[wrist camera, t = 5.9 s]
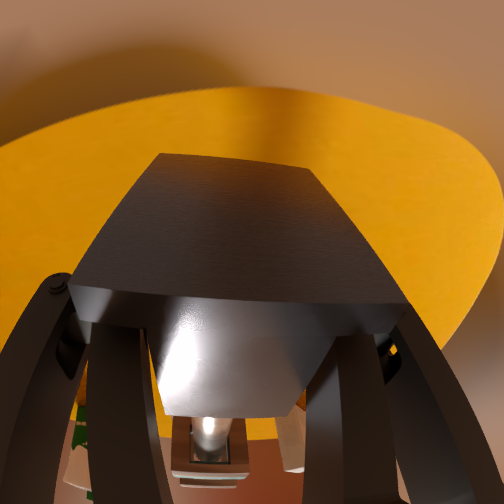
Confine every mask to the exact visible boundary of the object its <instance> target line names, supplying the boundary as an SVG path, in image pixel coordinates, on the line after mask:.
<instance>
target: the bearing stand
mask: <svg viewBox="0 0 504 504" xmlns="http://www.w3.org/2000/svg"><path fill="white" fill-rule="evenodd" d="M171 419H173V424H172V447H171V472H172V473H173V475H180V476H194V477H246V476H247V475H248V474H249V473H250V467H249V457H248V446H247V435H246V424H245V418H233V420H232V423H231V427H230V430H229V434H228V437H227V449H226V444H225V448H224V451H223V454H222V457H221V458H220V459H221V462H227V455H228V465H218V464H192V463H191V461H194V455H195V451H194V441H193V434H191V432H193V431H192V419H191V417H187V416H175V415H171ZM180 485H181V486H182V487H198V488H235V487H236V486H237V481H236V479H222V480H206V479H194V478H181V477H180Z"/></svg>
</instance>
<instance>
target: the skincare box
mask: <svg viewBox="0 0 504 504" xmlns="http://www.w3.org/2000/svg"><path fill="white" fill-rule="evenodd" d="M275 422H276V428H277V433H278V439H279V444H280V449H281V455H282V460H283V465H284V471H289V472H296V473H300V472H304V463H305V434H306V412H305V411H304V410H302V409H301V408H300V407H298V406H297V405H296V404H295V405H294V407H293V408H292V410H291V411H290V413H289V414H288V415H287V417H275Z"/></svg>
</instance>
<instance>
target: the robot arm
mask: <svg viewBox="0 0 504 504" xmlns="http://www.w3.org/2000/svg"><path fill="white" fill-rule="evenodd" d="M71 276H72V275H71V274H68V273H56V274H52V275H51V276H49V277H47V278H46V279H45V280H44V281H43V282H42V283H41V285H40V286H39V288H38V289H37V291H36V292H35V294H34V295H33V297H32V299H31V300H30V302H29V303H28V305H27V307H26V308H25V310H24V311H23V313H22V315H21V316H20V318H19V320H18V322H17V323H16V325H15V327H14V329H13V330H12V332H11V334H10V336H9V338H8V340H7V342H6V344H5V345H4V347H3V349H2V351H1V353H0V504H53V502H54V494H55V487H56V480H57V473H58V468H59V463H60V458H61V453H62V448H63V444H64V439H65V435H66V431H67V427H68V422H69V419H70V415H71V411H72V408H73V404H74V401H75V397H76V394H77V391H78V387H79V384H80V381H81V378H82V375H83V372H84V369H85V366H86V363H87V360H88V368H87V386H86V435H87V453H88V465H89V475H90V483H91V490H92V497H93V503H94V504H174V503H173V500H172V496H171V492H170V488H169V484H168V479H167V475H166V470H165V466H164V461H163V456H162V451H161V445H160V440H159V434H158V427H157V421H156V414H155V407H154V399H153V391H152V382H151V372H150V360H149V347H148V339H147V334H146V329H138V328H130V327H122V326H115V325H108V324H101V323H95V322H89V321H83V320H80V319H79V317H78V314H77V311H76V309H75V306H74V303H73V300H72V297H71V294H70V291H69V288H68V285H67V283H68V281H69V279H70V278H71ZM393 345H395V347H396V348H397V352H396V353H395V354H394V355H393V354H392V353H391V351H390V349H391V347H392V346H393ZM395 456H396V457H395ZM396 459H397V462H398V465H399V468H400V471H401V474H402V477H403V480H404V483H405V486H406V489H407V492H408V496H409V499H410V502H411V504H504V484H503V482H502V480H501V477H500V474H499V472H498V469H497V466H496V463H495V460H494V458H493V455H492V452H491V450H490V448H489V445H488V443H487V440H486V438H485V436H484V433H483V431H482V429H481V426H480V424H479V422H478V420H477V418H476V416H475V414H474V411H473V410H472V408H471V405H470V403H469V401H468V399H467V397H466V395H465V393H464V391H463V390H462V388H461V386H460V384H459V382H458V380H457V378H456V377H455V375H454V373H453V371H452V369H451V368H450V366H449V364H448V362H447V361H446V359H445V357H444V356H443V354H442V352H441V350H440V349H439V347H438V345H437V344H436V342H435V340H434V339H433V337H432V336H431V334H430V332H429V331H428V329H427V328H426V326H425V325H424V323H423V321H422V320H421V318H420V317H419V315H418V314H417V312H416V311H415V309H414V308H413V306H412V305H411V304H410V303H409V304H408V306H407V307H406V309H405V311H404V312H403V314H402V315H401V317H400V319H399V320H398V322H397V323H396V325H395V326H394V328H393V329H392V331H391V332H390V333H382V334H368V335H352V336H337V337H336V339H335V341H334V342H333V344H332V346H331V348H330V349H329V351H328V353H327V354H326V356H325V358H324V360H323V361H322V363H321V365H320V366H319V368H318V370H317V371H316V373H315V374H314V376H313V378H312V379H311V381H310V382H309V384H308V385H307V387H306V434H305V463H304V484H303V498H302V504H409V503H407V502H405V501H403V500H402V499H401V498H400V496H399V492H398V479H397V468H396Z"/></svg>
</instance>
